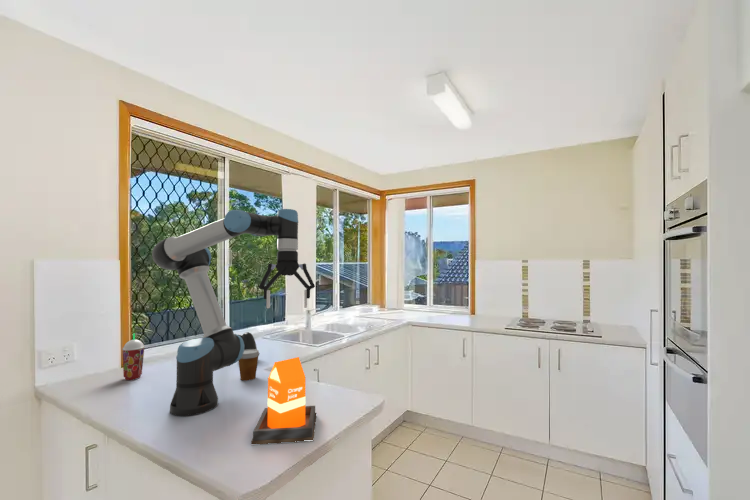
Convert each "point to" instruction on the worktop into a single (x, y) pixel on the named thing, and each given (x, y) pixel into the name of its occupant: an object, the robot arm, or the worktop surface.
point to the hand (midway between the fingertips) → (287, 307)
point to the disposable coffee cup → (248, 364)
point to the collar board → (284, 429)
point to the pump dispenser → (248, 341)
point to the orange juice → (286, 394)
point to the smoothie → (133, 359)
